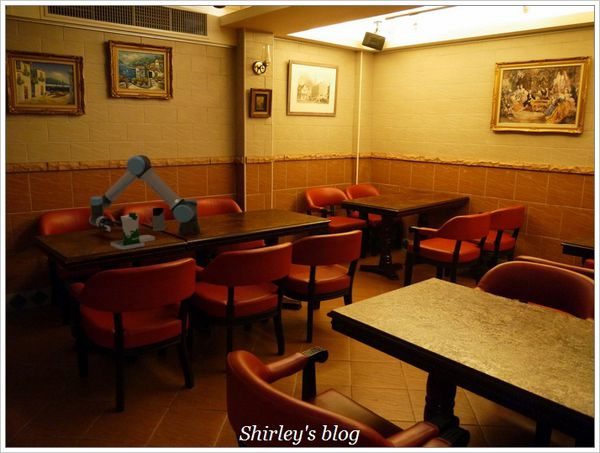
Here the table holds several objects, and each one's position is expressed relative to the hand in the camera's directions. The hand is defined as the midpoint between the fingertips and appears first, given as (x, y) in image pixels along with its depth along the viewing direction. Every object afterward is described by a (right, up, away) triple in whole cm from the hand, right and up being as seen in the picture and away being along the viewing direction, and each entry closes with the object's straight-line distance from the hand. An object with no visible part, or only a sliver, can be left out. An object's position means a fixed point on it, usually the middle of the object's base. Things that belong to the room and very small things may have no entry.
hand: (120, 227), depth 318 cm
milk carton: (+8, -11, -3) cm, 14 cm away
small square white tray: (+11, -8, +13) cm, 19 cm away
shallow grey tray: (+6, -11, -3) cm, 13 cm away
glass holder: (+9, -1, +46) cm, 47 cm away
